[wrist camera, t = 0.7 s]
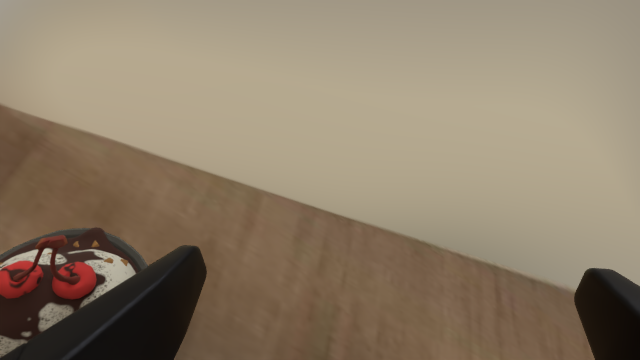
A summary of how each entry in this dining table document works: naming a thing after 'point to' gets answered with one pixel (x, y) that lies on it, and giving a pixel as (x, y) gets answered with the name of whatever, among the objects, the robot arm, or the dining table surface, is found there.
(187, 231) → the dining table surface
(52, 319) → the sundae
